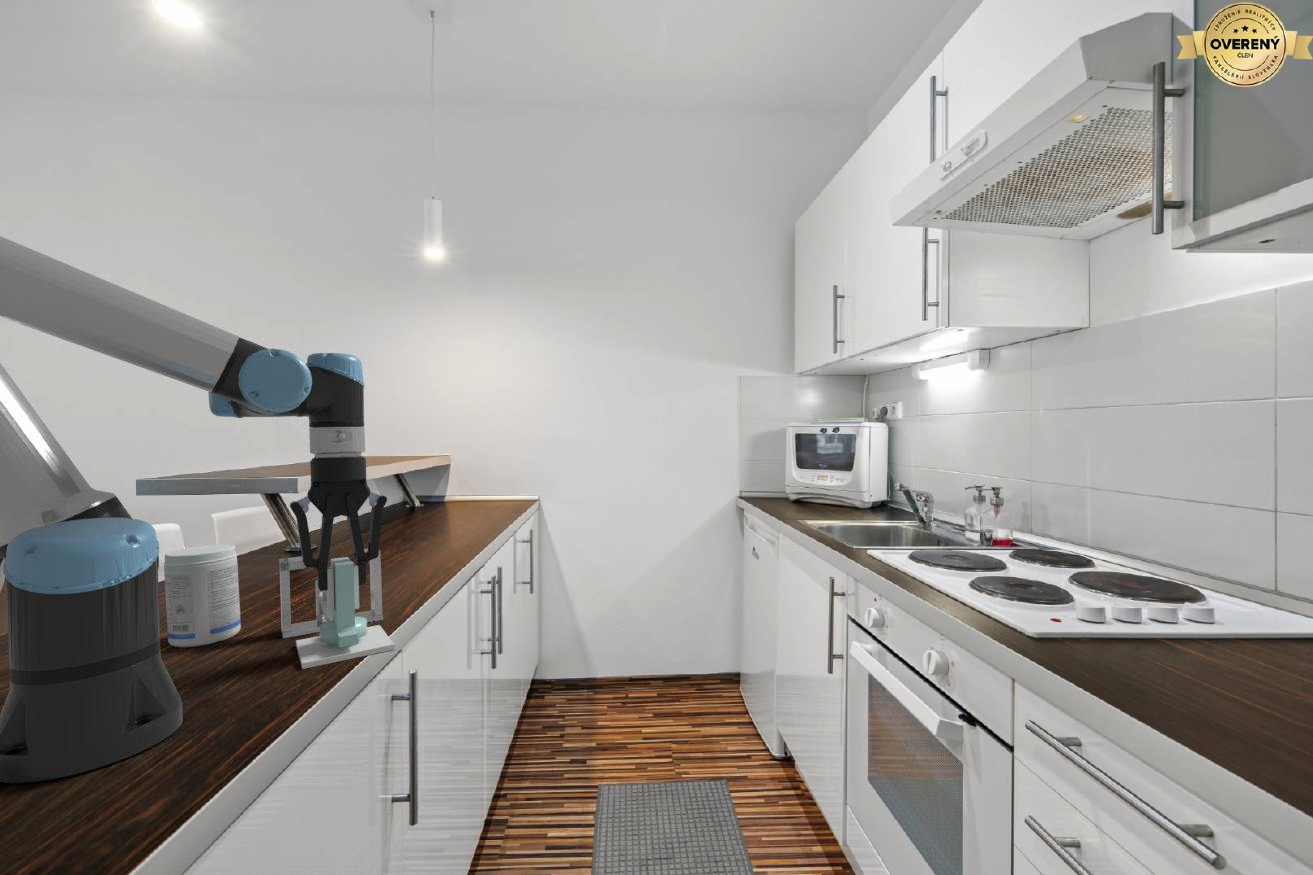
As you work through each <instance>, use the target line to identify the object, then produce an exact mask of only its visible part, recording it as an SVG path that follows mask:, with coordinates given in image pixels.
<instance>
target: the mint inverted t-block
mask: <svg viewBox="0 0 1313 875" xmlns="http://www.w3.org/2000/svg"><path fill="white" fill-rule="evenodd" d="M354 563H355V562H353V561H352V560H351V559H350V557H347V556H345V557H337V558H331V559H330V566H331V567H332V568H333V580H334V613H332V619H330V621H327V622H325V623H323V624H321V625H320V632H319V636H320V641H321V642H324V643H338V645H339V647H345V646H350V645H356V644H358V638H361V637H363V636H365V635H366V634H367V627H368V623H367V619H366V618H364V617H355V613H356V612H355V610H356V609H355V602H354Z"/></svg>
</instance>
